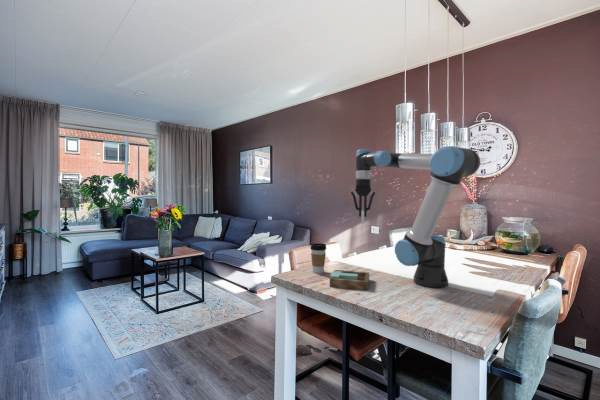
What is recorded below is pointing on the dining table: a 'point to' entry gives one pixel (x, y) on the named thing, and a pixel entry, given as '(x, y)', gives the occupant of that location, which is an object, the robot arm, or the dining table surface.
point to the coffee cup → (318, 257)
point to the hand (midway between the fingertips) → (362, 223)
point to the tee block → (343, 275)
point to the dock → (351, 281)
